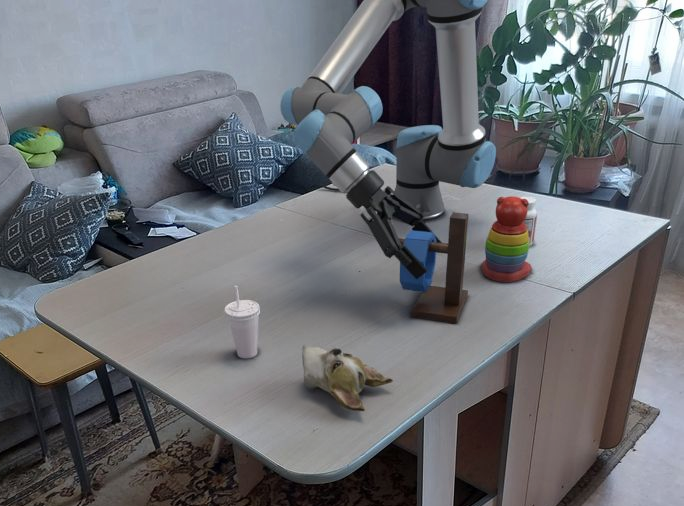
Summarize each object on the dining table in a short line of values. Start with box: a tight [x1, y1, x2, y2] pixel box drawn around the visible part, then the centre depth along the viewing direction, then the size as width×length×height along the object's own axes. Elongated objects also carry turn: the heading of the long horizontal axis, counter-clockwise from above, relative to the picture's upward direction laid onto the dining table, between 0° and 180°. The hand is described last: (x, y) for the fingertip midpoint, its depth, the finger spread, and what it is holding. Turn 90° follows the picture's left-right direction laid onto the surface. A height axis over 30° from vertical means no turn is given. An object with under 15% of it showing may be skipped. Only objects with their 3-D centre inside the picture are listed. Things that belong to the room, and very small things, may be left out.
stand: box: [398, 211, 469, 324], centre depth 130 cm, size 16×12×20 cm
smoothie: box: [224, 285, 261, 359], centre depth 117 cm, size 6×6×14 cm
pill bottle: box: [519, 196, 538, 247], centre depth 158 cm, size 6×6×11 cm
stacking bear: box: [481, 196, 532, 283], centre depth 142 cm, size 11×10×18 cm
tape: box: [399, 229, 437, 293], centre depth 130 cm, size 5×11×11 cm, turn 160°
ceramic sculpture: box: [301, 344, 394, 412], centre depth 107 cm, size 11×9×15 cm
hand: (430, 260), depth 130 cm, fingers open, 13 cm apart
